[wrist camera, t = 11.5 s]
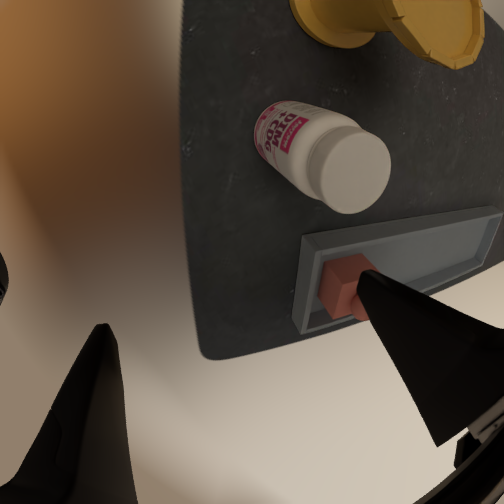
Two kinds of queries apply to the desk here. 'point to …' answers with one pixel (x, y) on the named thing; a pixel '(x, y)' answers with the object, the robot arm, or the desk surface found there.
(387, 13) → the footed bowl
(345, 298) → the red knobbed block
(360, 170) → the pill bottle
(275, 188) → the desk surface
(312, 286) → the tray
